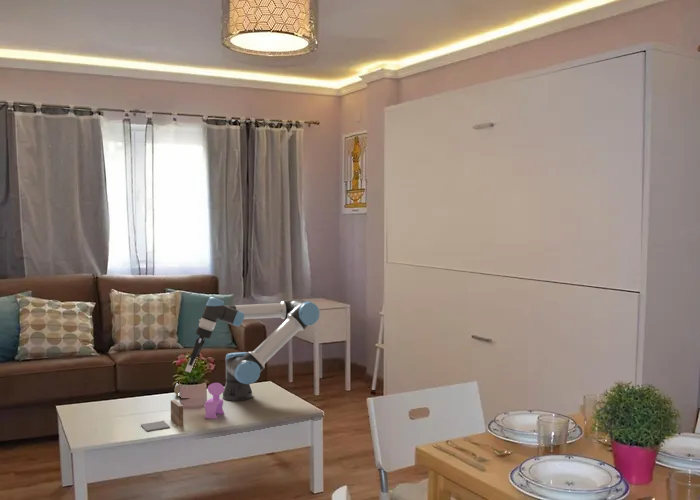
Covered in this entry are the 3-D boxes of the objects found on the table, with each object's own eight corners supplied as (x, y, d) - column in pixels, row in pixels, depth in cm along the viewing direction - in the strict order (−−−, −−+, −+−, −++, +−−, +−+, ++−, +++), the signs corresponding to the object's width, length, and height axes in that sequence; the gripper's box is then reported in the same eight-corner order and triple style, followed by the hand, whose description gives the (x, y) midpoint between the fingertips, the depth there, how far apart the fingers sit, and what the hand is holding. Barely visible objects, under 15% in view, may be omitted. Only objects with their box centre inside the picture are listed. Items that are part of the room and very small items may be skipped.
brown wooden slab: (175, 419, 303) (175, 399, 303) (183, 425, 293) (183, 405, 293) (170, 419, 302) (170, 400, 302) (178, 426, 292) (178, 406, 292)
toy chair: (202, 418, 305) (201, 385, 304) (210, 412, 313) (210, 381, 313) (218, 419, 303) (218, 386, 302) (226, 414, 311) (226, 382, 311)
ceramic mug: (173, 397, 340) (174, 383, 340) (175, 393, 348) (175, 379, 348) (195, 397, 342) (195, 382, 342) (196, 393, 350) (196, 379, 350)
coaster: (163, 422, 298) (163, 420, 298) (169, 427, 290) (169, 426, 290) (140, 425, 293) (140, 424, 293) (146, 431, 285) (146, 430, 285)
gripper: (200, 325, 332) (184, 365, 329) (195, 326, 307) (178, 370, 304) (214, 330, 332) (198, 370, 329) (211, 332, 308) (194, 375, 305)
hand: (189, 370), depth 317 cm, fingers open, 13 cm apart
